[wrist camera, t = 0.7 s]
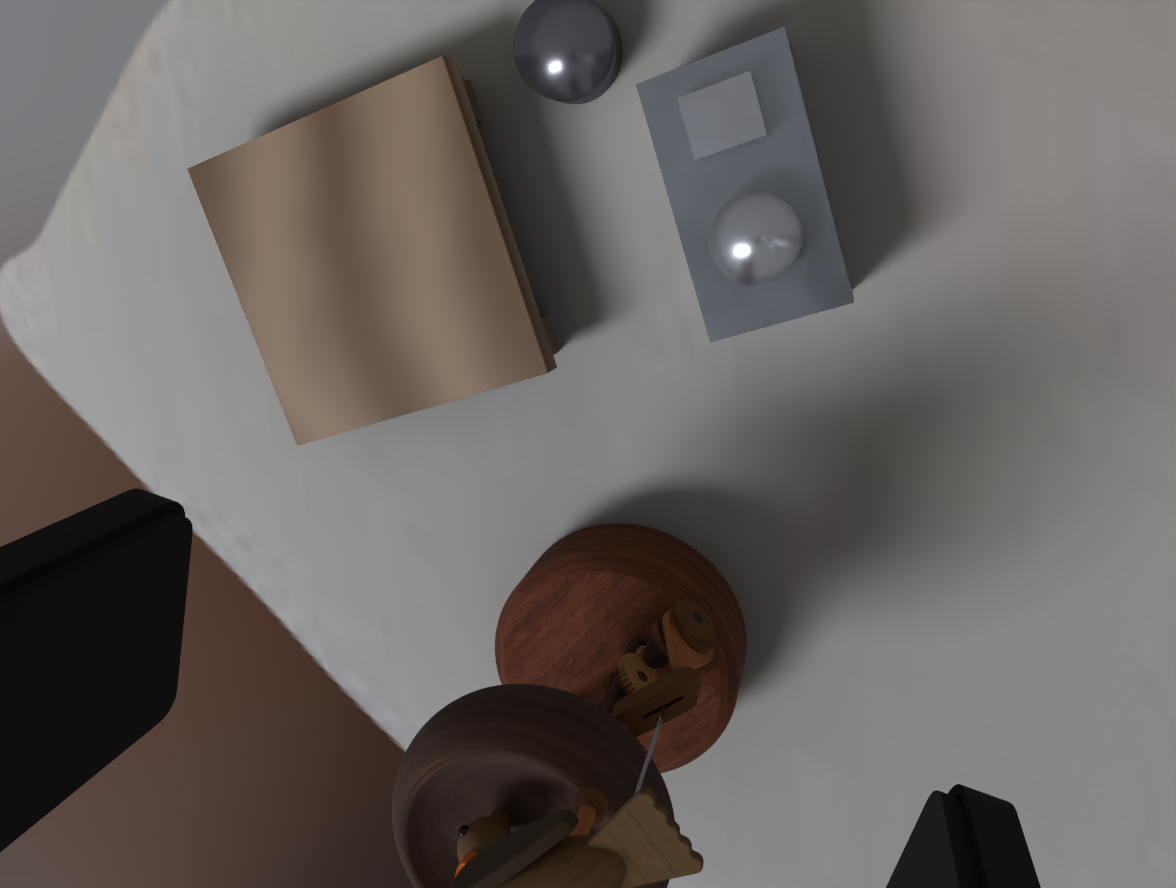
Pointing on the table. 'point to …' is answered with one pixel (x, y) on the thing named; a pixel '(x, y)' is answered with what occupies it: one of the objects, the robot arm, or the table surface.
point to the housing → (747, 187)
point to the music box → (578, 724)
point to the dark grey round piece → (567, 50)
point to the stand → (376, 256)
